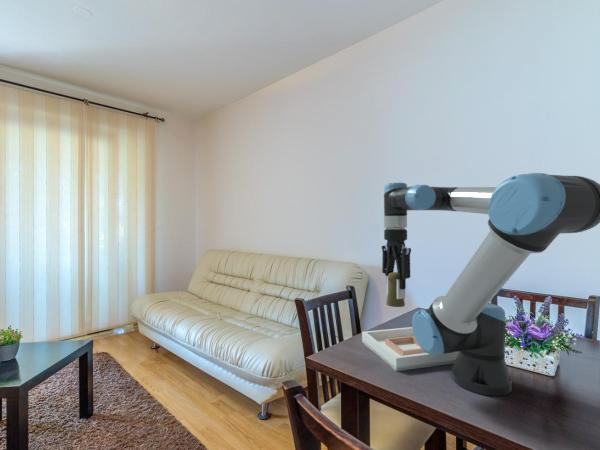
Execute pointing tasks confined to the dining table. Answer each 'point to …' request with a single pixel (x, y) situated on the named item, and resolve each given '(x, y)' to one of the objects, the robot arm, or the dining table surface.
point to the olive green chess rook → (393, 291)
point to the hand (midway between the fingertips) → (395, 296)
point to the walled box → (403, 349)
